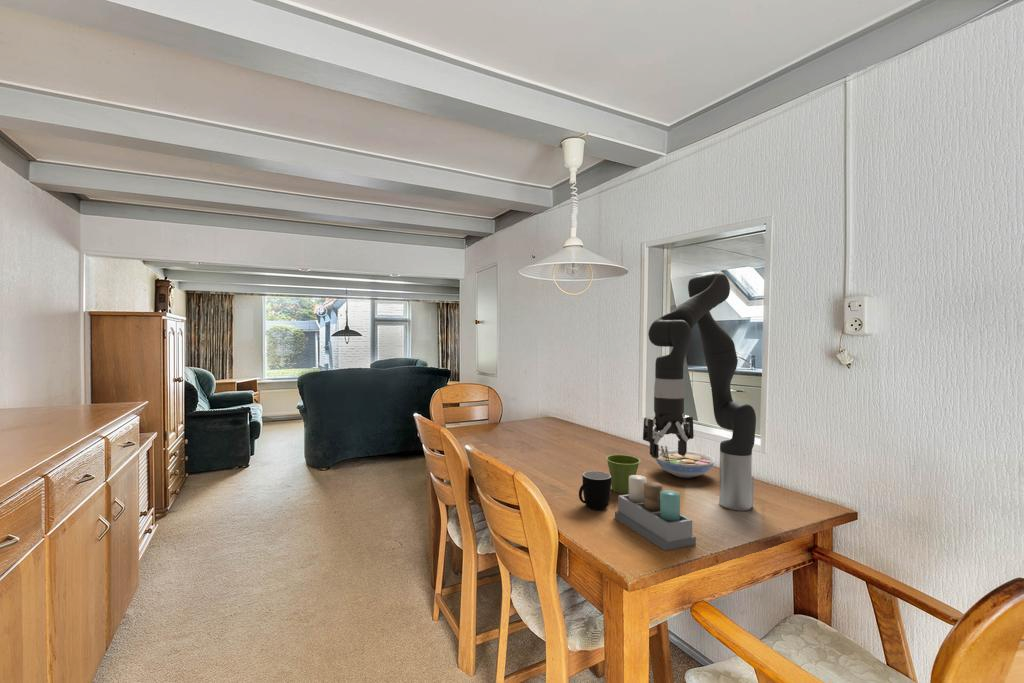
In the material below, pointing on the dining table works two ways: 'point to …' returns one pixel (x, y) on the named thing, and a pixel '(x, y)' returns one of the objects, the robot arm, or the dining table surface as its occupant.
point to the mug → (596, 489)
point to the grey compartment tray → (655, 525)
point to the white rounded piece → (636, 488)
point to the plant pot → (622, 471)
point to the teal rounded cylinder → (670, 505)
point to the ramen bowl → (684, 463)
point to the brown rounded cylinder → (652, 496)
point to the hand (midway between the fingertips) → (668, 456)
